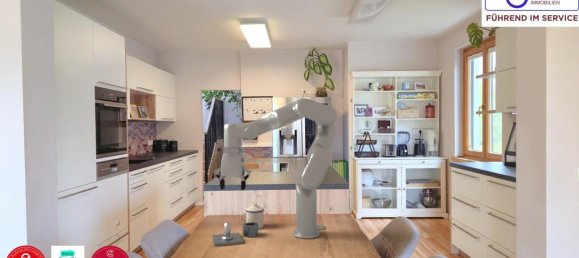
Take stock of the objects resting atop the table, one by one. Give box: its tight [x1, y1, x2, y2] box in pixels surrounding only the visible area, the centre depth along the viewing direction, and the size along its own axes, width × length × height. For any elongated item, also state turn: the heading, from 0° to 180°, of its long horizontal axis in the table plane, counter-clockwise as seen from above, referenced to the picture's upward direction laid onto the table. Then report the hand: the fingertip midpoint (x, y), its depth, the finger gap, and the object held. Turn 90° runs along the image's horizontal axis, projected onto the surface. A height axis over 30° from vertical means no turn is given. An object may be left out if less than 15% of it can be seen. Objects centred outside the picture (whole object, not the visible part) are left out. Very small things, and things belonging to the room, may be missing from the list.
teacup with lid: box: [239, 203, 265, 230], centre depth 165 cm, size 12×9×12 cm
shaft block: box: [212, 221, 244, 247], centre depth 144 cm, size 12×12×8 cm
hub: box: [242, 222, 259, 238], centre depth 152 cm, size 7×7×5 cm
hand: (232, 189), depth 147 cm, fingers open, 9 cm apart
